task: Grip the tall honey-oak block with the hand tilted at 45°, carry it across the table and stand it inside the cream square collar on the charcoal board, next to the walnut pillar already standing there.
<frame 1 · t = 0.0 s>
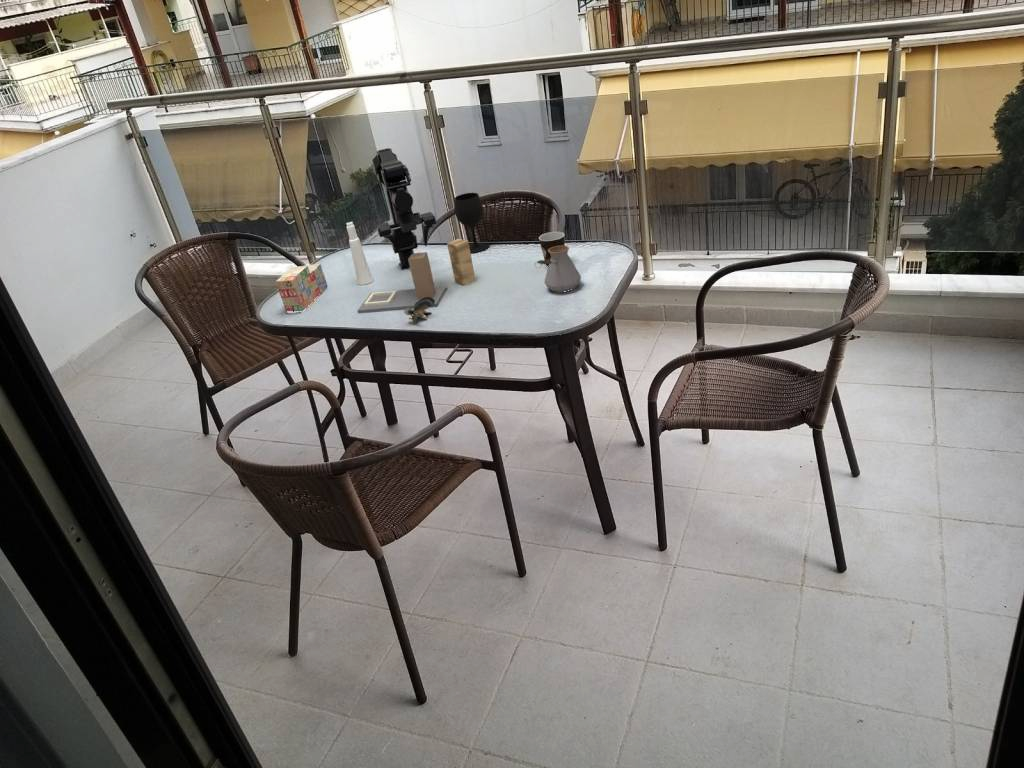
hand: (412, 249, 250), 15 cm above the table, tool pointing down, fingers open, 9 cm apart
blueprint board: (381, 302, 254), on the table
chipmunk figurine: (422, 319, 237), on the table
coffee pot: (557, 294, 237), on the table
cosmetic bottle: (365, 282, 274), on the table
oak block: (465, 281, 258), on the table
coffee mug: (555, 263, 260), on the table
wine glass: (476, 249, 286), on the table
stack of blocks: (308, 301, 267), on the table
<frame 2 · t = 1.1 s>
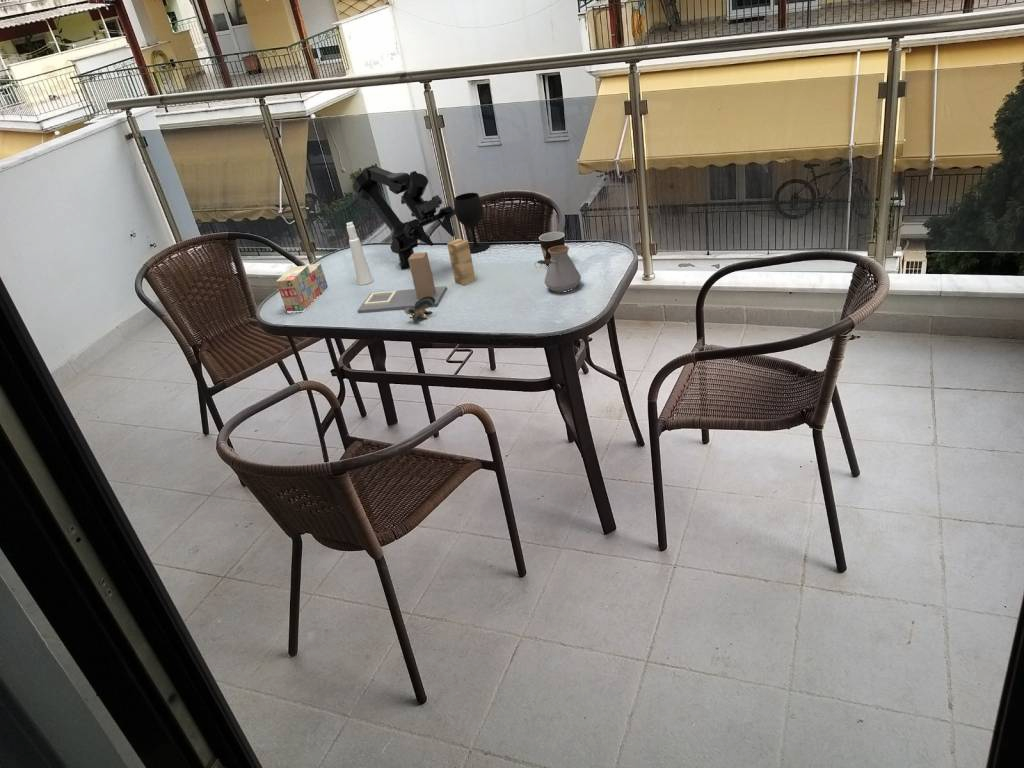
hand: (443, 240, 257), 13 cm above the table, tool tilted 45°, fingers open, 9 cm apart
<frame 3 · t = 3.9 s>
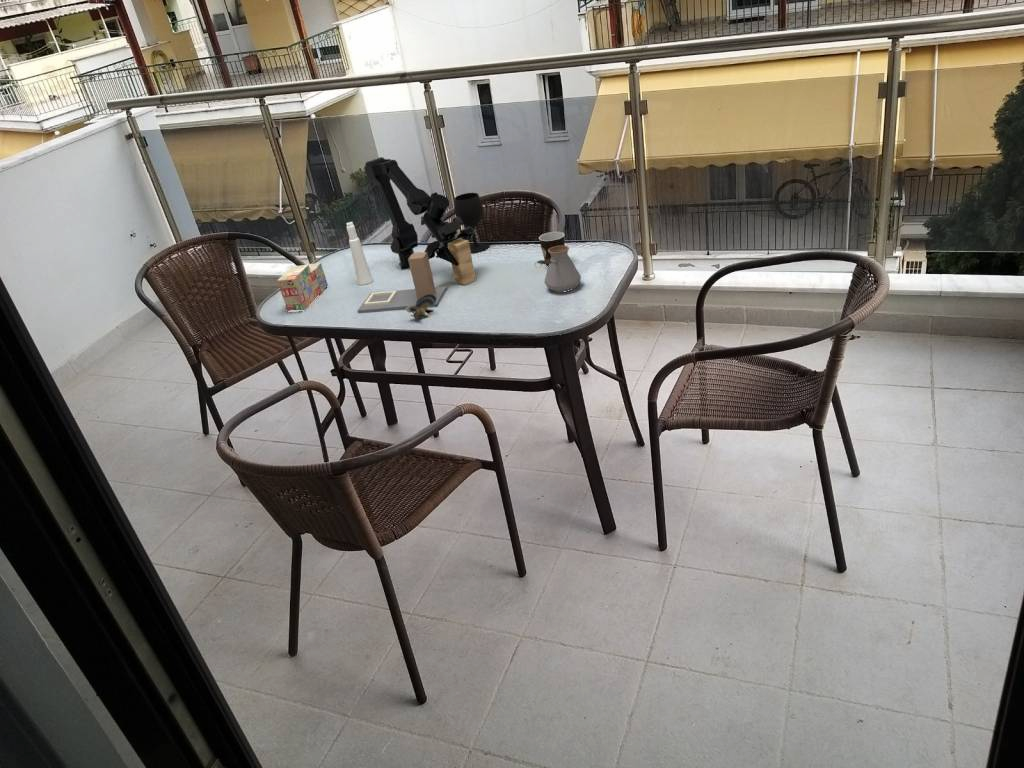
hand: (464, 262, 254), 7 cm above the table, tool tilted 45°, fingers closed on oak block, 5 cm apart
chipmunk figurine: (424, 317, 238), on the table
oak block: (465, 281, 258), on the table, touching gripper
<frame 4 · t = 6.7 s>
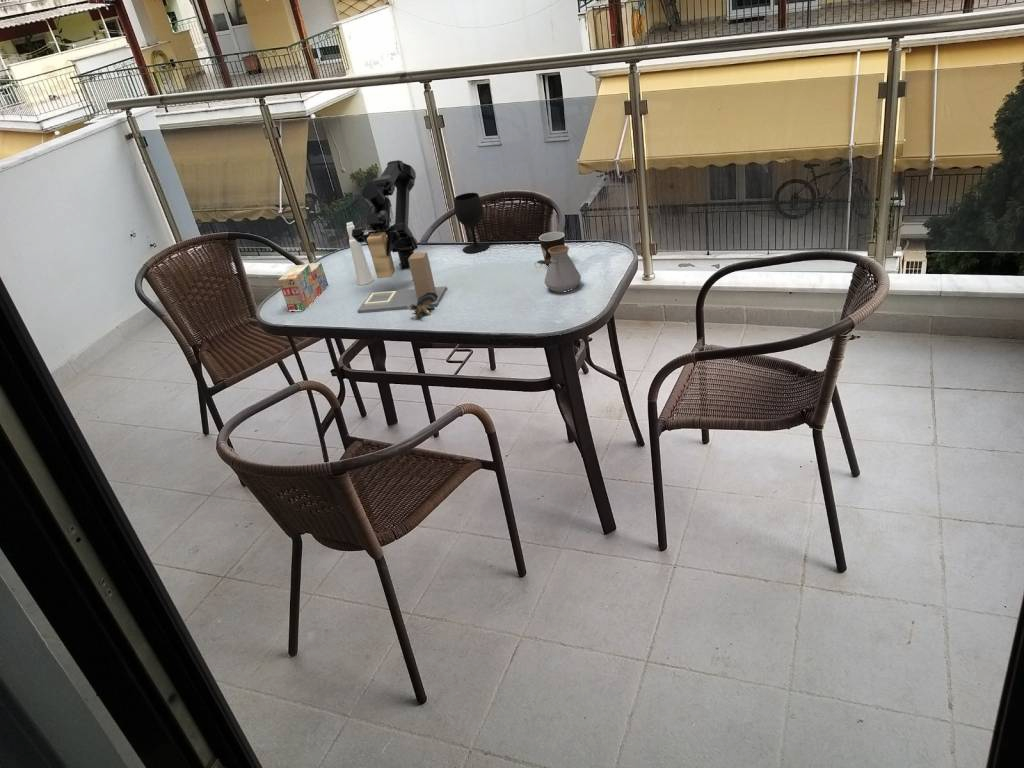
hand: (380, 256, 254), 13 cm above the table, tool tilted 45°, fingers closed on oak block, 5 cm apart
chipmunk figurine: (425, 314, 240), on the table
oak block: (386, 274, 258), point 6 cm above the table, touching gripper
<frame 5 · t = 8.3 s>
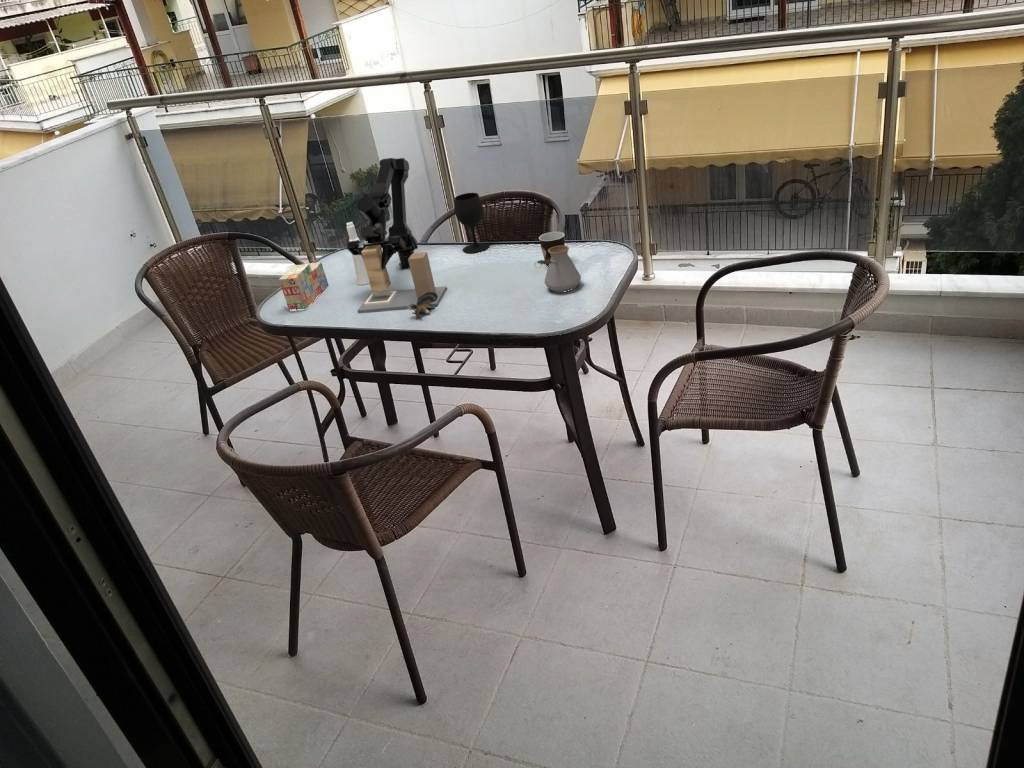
hand: (375, 269, 250), 11 cm above the table, tool tilted 45°, fingers closed on oak block, 5 cm apart
chipmunk figurine: (425, 314, 240), on the table, touching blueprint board
oak block: (381, 287, 254), point 4 cm above the table, touching gripper
when the fingers open (10 cm above the table, at t = 9.5 s): oak block drops 2 cm, resting on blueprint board.
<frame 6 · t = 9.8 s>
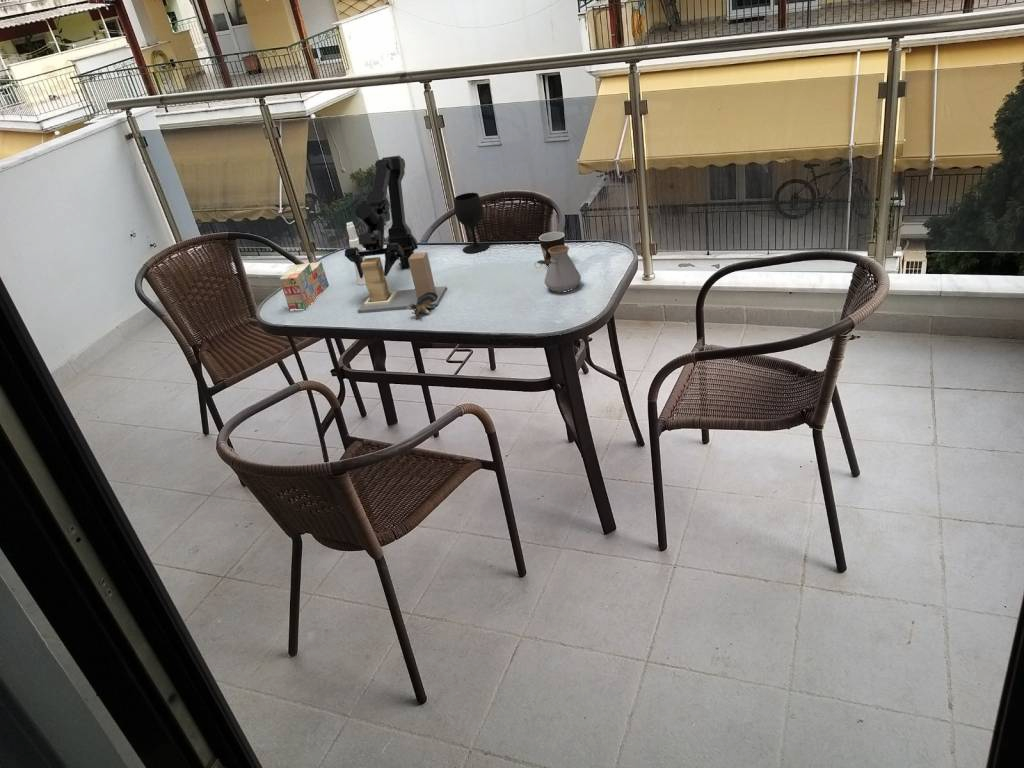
hand: (373, 276, 248), 10 cm above the table, tool tilted 45°, fingers open, 8 cm apart
chipmunk figurine: (425, 314, 240), on the table
oak block: (381, 299, 253), point 1 cm above the table, touching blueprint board
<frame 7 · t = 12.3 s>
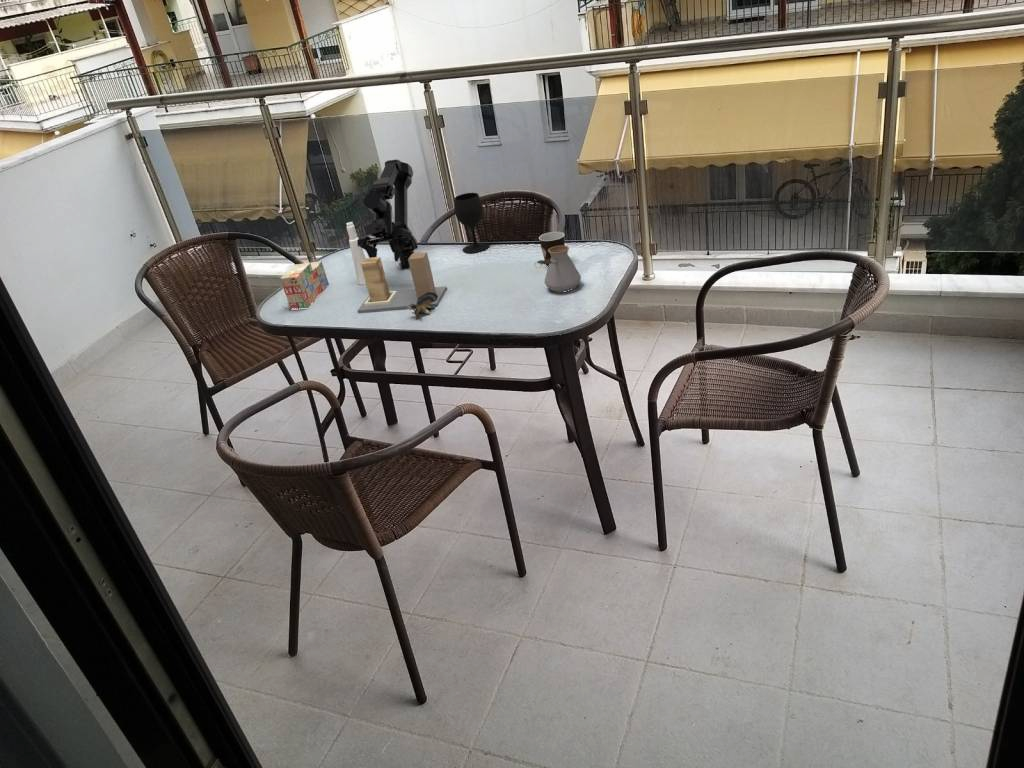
hand: (385, 263, 256), 10 cm above the table, tool tilted 35°, fingers open, 9 cm apart
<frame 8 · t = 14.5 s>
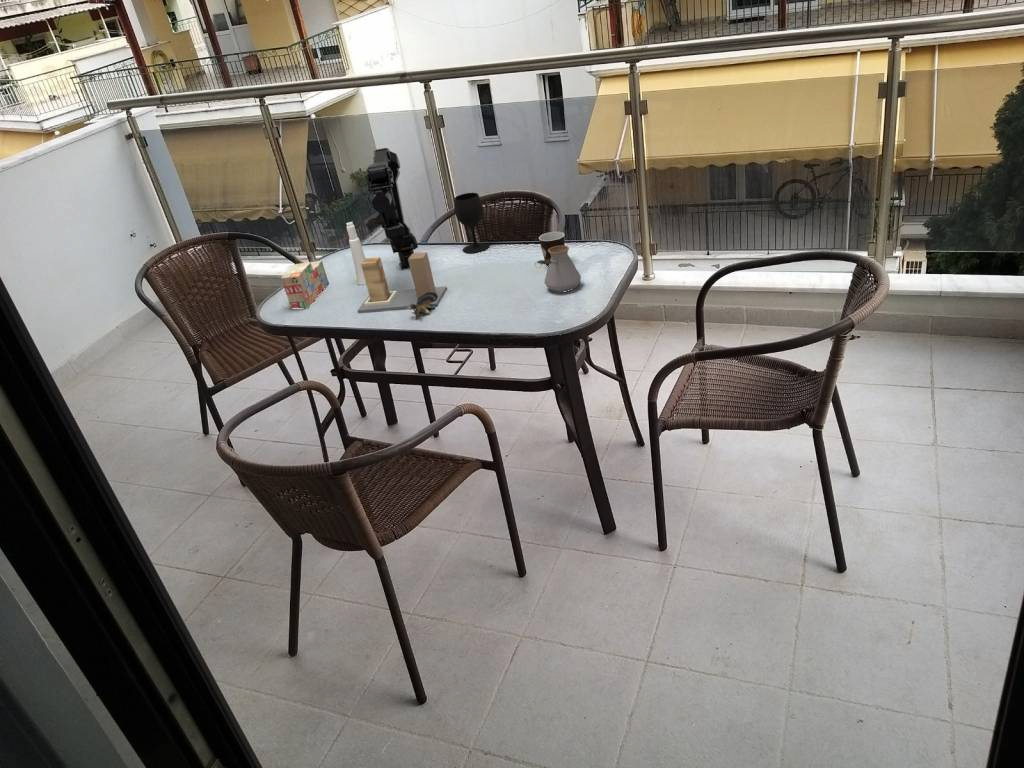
hand: (397, 248, 259), 13 cm above the table, tool pointing down, fingers open, 9 cm apart
at the end: oak block 0.0 cm off-centre on the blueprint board, point 1.0 cm above the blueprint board's base; oak block tilted 0°; the gripper is holding nothing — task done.
